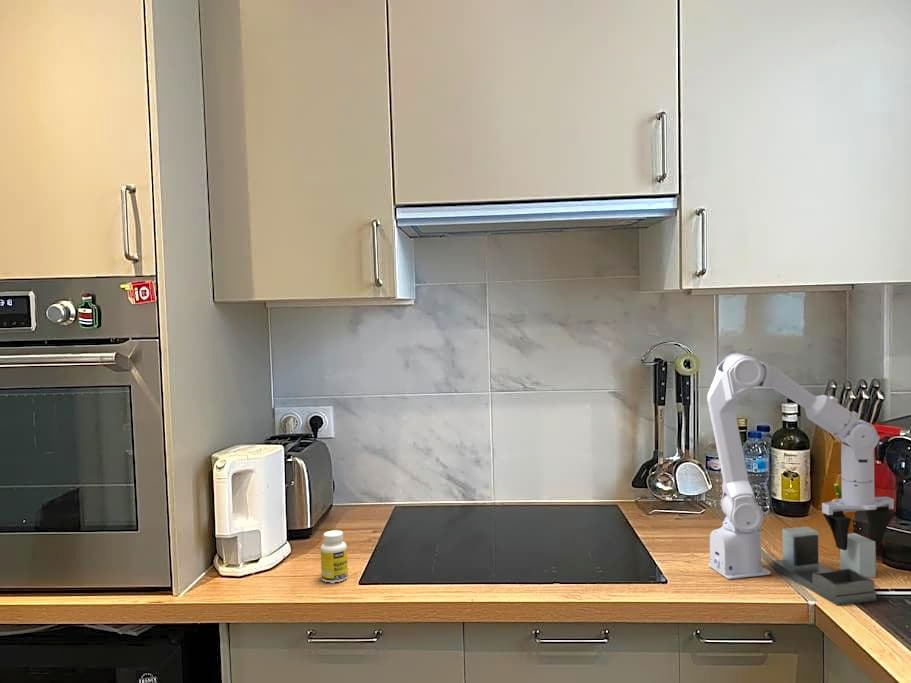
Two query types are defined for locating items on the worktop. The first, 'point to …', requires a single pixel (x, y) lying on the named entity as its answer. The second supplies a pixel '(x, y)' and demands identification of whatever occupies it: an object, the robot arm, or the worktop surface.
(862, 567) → the pale green upright block
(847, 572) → the grey block holder
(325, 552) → the supplement bottle
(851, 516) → the carrot
